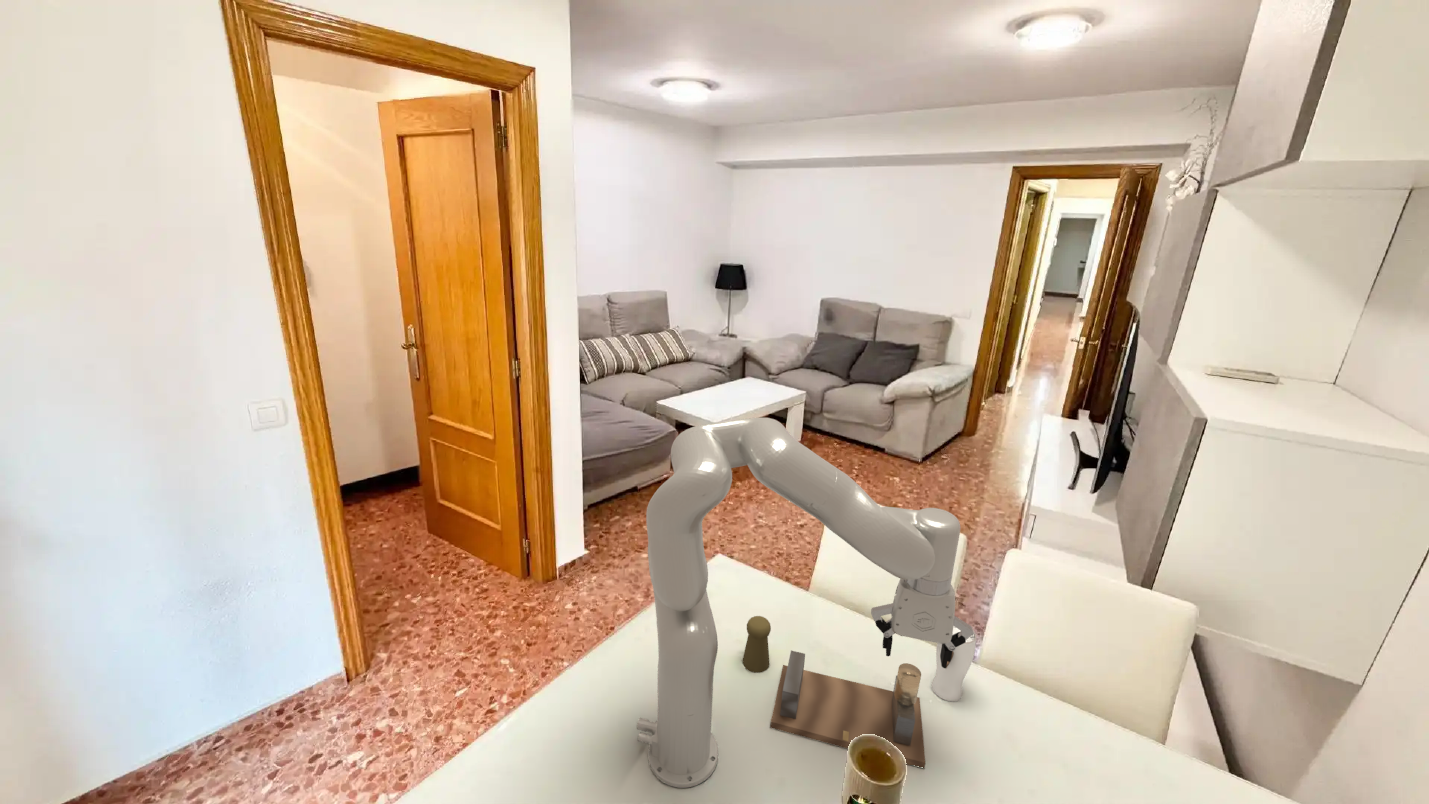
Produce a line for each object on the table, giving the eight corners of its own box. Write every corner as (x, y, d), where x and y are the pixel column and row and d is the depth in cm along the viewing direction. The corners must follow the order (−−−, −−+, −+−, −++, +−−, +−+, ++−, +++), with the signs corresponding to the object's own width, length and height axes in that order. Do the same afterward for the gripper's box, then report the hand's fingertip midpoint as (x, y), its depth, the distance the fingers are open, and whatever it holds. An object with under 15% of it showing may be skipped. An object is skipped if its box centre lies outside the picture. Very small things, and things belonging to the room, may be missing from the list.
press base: (770, 727, 106) (773, 696, 103) (782, 670, 119) (785, 642, 117) (924, 769, 99) (930, 737, 96) (918, 703, 112) (924, 674, 110)
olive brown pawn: (768, 675, 118) (771, 633, 115) (740, 670, 119) (743, 628, 116) (771, 655, 124) (774, 614, 120) (744, 650, 125) (747, 609, 121)
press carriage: (890, 740, 102) (899, 689, 98) (889, 698, 111) (897, 650, 107) (913, 746, 101) (923, 694, 97) (910, 703, 110) (919, 655, 106)
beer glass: (964, 684, 118) (977, 626, 113) (964, 708, 112) (977, 648, 107) (930, 673, 120) (941, 615, 116) (927, 696, 114) (939, 636, 110)
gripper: (876, 581, 95) (866, 661, 100) (985, 600, 90) (968, 683, 96) (876, 557, 102) (867, 633, 107) (977, 574, 97) (962, 652, 103)
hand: (915, 656), depth 101 cm, fingers open, 9 cm apart
